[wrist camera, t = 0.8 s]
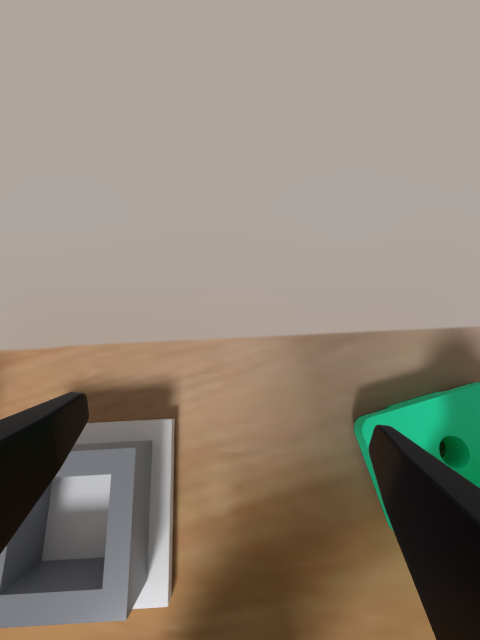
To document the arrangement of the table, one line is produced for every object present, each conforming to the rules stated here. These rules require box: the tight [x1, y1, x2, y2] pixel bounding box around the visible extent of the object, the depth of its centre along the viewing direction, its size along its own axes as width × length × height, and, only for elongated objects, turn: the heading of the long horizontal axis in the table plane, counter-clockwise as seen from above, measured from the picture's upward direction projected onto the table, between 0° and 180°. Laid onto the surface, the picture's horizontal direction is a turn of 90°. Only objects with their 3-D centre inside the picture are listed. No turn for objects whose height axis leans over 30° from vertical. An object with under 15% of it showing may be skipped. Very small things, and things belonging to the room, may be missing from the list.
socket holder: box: [0, 418, 175, 628], centre depth 19 cm, size 12×12×4 cm
